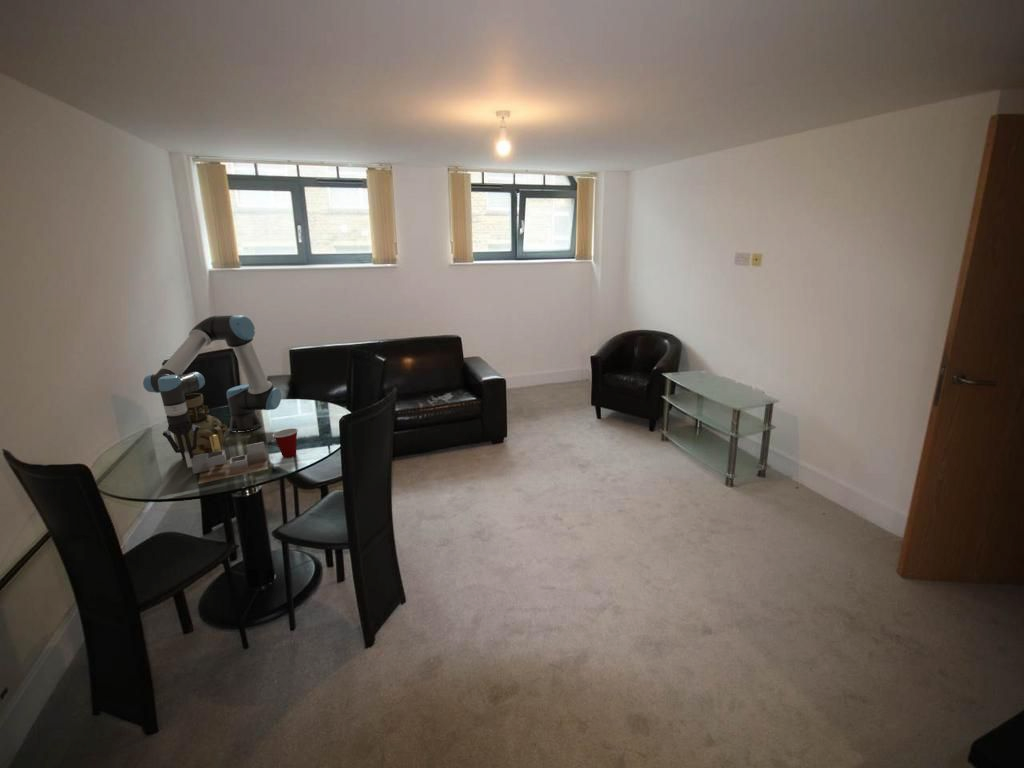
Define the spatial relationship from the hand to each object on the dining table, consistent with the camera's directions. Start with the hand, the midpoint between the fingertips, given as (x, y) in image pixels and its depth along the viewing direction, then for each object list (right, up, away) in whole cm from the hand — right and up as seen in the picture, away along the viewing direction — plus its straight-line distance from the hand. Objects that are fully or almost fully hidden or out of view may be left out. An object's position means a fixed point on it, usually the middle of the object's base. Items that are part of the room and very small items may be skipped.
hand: (190, 465), depth 205 cm
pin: (+5, -2, +12) cm, 13 cm away
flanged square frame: (+6, -4, +5) cm, 8 cm away
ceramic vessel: (-8, 0, +23) cm, 25 cm away
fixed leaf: (+19, -1, +11) cm, 22 cm away
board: (+13, -3, +10) cm, 17 cm away
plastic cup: (+32, +1, +22) cm, 39 cm away
